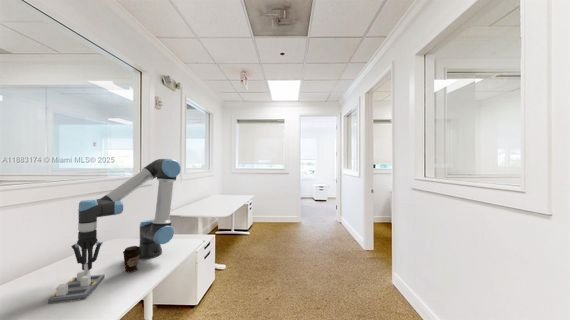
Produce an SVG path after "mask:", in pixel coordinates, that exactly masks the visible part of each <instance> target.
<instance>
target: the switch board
mask: <svg viewBox="0 0 570 320" xmlns="http://www.w3.org/2000/svg"><path fill="white" fill-rule="evenodd" d="M105 277H106V274H105V273H104V274H95V275H91V284H90V285H89V286H85V287H81V281H77V276H74V277H72V278H70V280H69V281H67V282H66V283H65V284H68V294H66V295H64V296H56V292H54V293H53V294H52V295H50V296H49V298H47V304H53V303H55V304H56V303H64V302H69V301H71V300H72V301H77V300H78V299H80V300H87V298H89V296H90V295H91V294H92V293H93V291H94V290H95V289H96V288H97V287H98V286H99V285H100V284H101V283H102V281H103V280H104V279H105ZM89 294H90V295H89ZM78 301H79V300H78Z"/></svg>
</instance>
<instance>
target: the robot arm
mask: <svg viewBox="0 0 570 320" xmlns="http://www.w3.org/2000/svg"><path fill="white" fill-rule="evenodd" d="M181 170H182V169H181V164H180V163H179V161H177V160H175V159H172V158H160V159H159V158H158V159H156V160H154V161H152V162H150V163H149V164H147V165H146V166H144V167H142V169H141V171H140V172H138V173H136V174H135V175H134V176H132V177H131V178H129V179H128V180H126V181H125V182H123V183H122V184H121V185H118V186H117V187H115V188H114V189H113V190H111V191H110V192H109V193H107V194H105V195H103V196H102V197H100V198H97V199H84V200H80V202H79V203H78V209H77V210H78V214H77V215H78V221H77V222H78V223H77V224H78V227H77V231H78V232H77V241H76V243H74V244H72V245H71V249H73V252H74V254H75V255H74V256H75V259H76V262H77V264H81V271H84V276H88V275H91V273H90V272H91V269H93V263H95V262H96V261H97V258H98V257H99V252H100V249H101V246H102V245H103V244H104V243H103V241H98V239H97V238H98V237H97V235H98V231H97V228H98V218H103V217H109V216H117V215H121V214H122V213H123V212H124V204H123V201H122V200H123V199H125V198H126V197H128V196H129V195H131V194H132V193H133V192H134V191H136V190H138V189H139V188H140V187H142V186H143V185H145V184H146V183H147V182H149V181H153V180H154V179H156V180H157V181H158V186H157V187H158V188H157V196H156V203H155V204H156V205H155V212H154V213H155V215H154V219H148V220H142V221H141V222H140V223H139V245H138V247H139V250H140V251H139V259H142V260H143V259H153V258H155V257H159V256H160V255H162V254H163V249H162V245H164V244H165V245H166V244H168V243H169V242H170V241H171V240H172V239H173V237H174V235H175V231H174V228H173V227H172V220H171V217H170V216H171V209H172V208H171V207H172V199H173V189H174V183H175V182H176V181H177V177H178V176H179V175H180V174H181ZM94 246H96V247H95V249H94ZM80 249H81V250H80ZM93 249H94V250H93Z"/></svg>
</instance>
